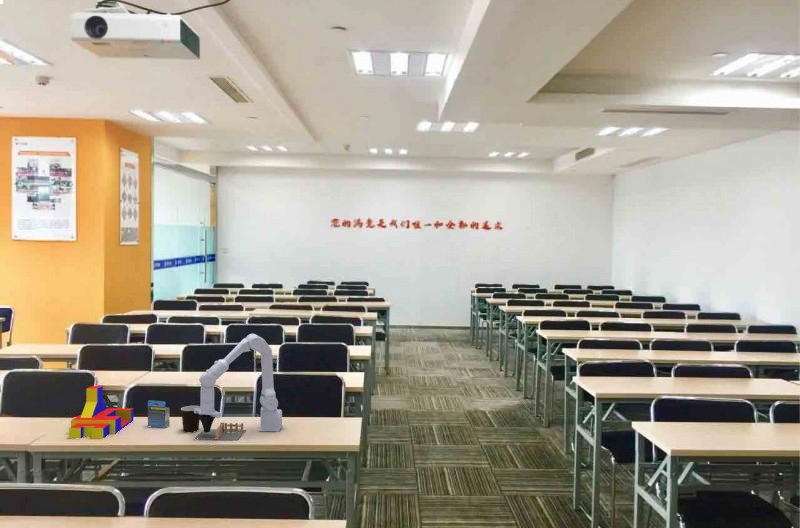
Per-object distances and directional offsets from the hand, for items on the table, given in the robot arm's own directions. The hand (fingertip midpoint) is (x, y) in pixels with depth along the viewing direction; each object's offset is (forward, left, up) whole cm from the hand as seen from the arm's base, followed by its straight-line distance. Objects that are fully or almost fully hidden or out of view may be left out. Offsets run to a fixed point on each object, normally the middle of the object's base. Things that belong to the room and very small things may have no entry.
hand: (207, 431), depth 250 cm
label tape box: (+27, -13, -2) cm, 30 cm away
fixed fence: (-9, -5, -2) cm, 11 cm away
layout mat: (-5, -2, -2) cm, 6 cm away
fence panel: (-5, 0, -2) cm, 6 cm away
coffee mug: (+10, -10, -2) cm, 14 cm away
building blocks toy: (+50, -7, -3) cm, 51 cm away
